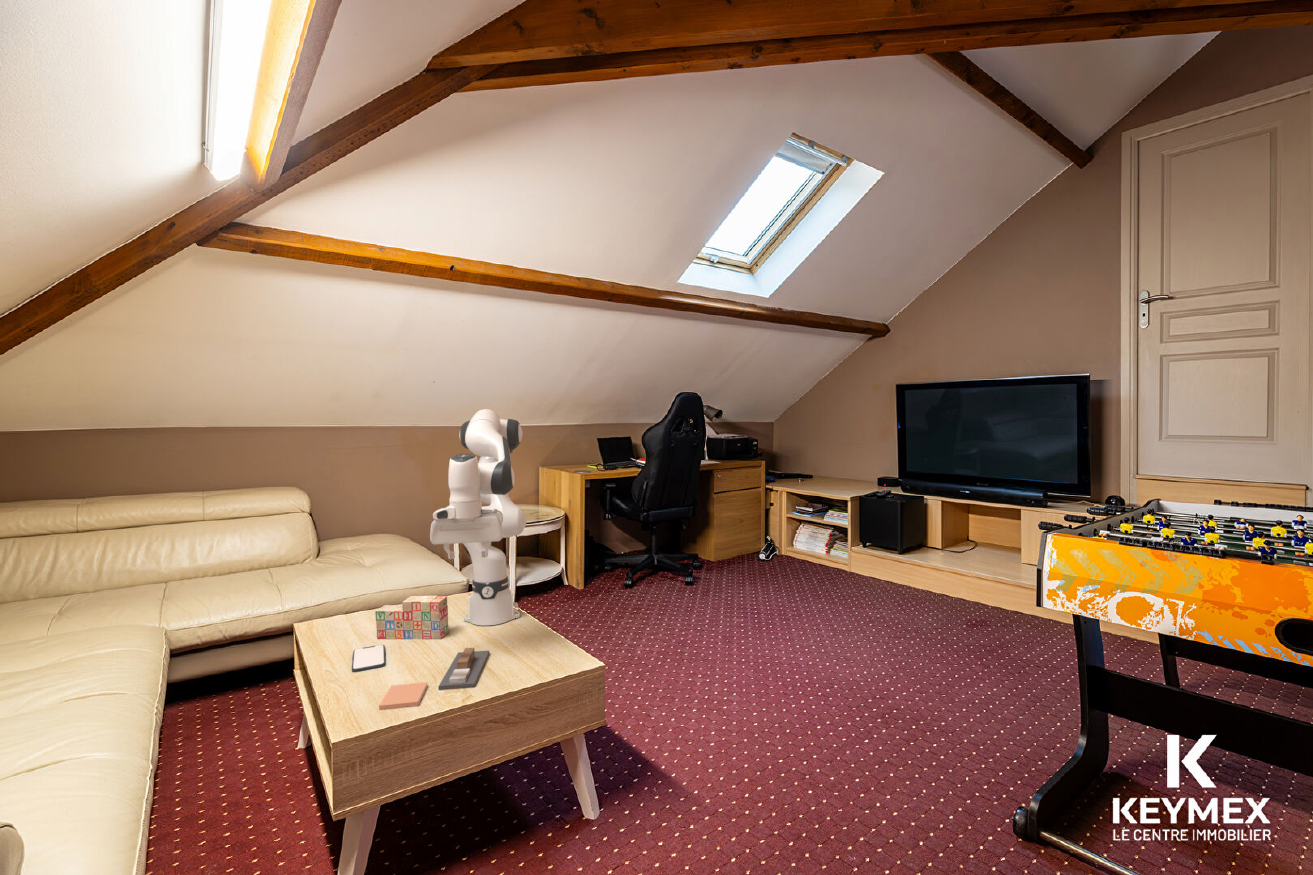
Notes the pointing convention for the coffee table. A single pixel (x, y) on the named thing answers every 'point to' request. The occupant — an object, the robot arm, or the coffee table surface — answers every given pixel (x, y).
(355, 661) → the smartphone
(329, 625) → the coffee table surface
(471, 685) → the rubber mat
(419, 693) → the tile
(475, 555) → the robot arm
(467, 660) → the brown handled tool
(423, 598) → the stack of blocks
